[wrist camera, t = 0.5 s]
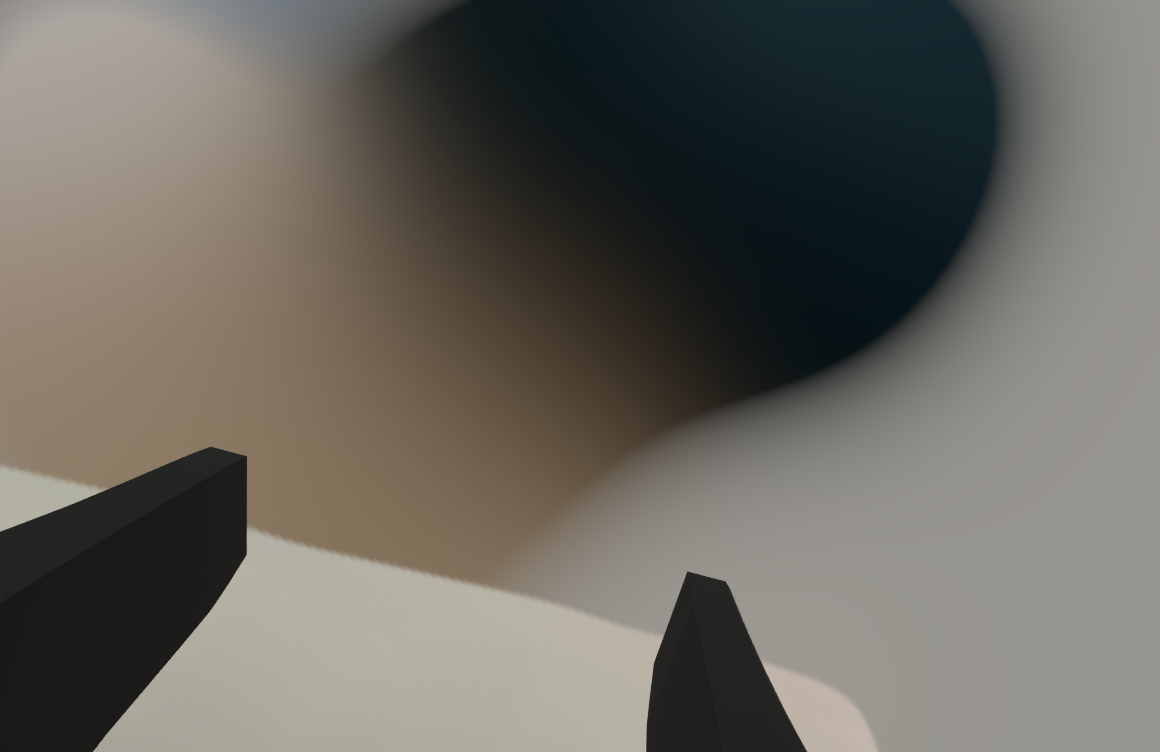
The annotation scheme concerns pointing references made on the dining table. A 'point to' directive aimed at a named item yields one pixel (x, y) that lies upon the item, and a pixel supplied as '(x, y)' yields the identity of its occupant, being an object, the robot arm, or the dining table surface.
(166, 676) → the dining table surface
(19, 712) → the robot arm
